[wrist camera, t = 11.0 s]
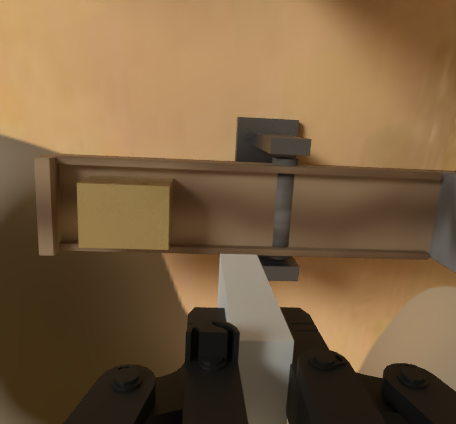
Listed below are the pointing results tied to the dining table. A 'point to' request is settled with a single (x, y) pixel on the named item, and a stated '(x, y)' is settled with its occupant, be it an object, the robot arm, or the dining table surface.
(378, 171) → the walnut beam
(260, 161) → the beam stand
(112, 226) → the block
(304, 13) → the dining table surface
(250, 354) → the robot arm
